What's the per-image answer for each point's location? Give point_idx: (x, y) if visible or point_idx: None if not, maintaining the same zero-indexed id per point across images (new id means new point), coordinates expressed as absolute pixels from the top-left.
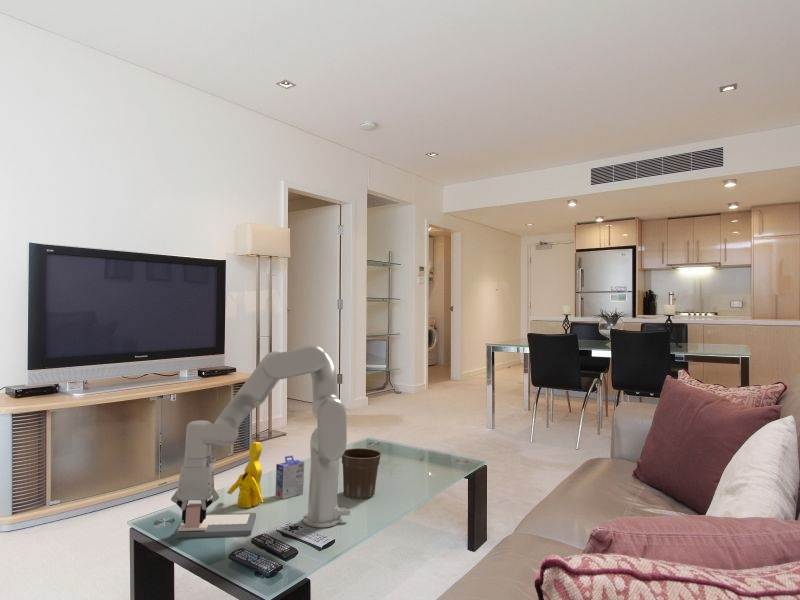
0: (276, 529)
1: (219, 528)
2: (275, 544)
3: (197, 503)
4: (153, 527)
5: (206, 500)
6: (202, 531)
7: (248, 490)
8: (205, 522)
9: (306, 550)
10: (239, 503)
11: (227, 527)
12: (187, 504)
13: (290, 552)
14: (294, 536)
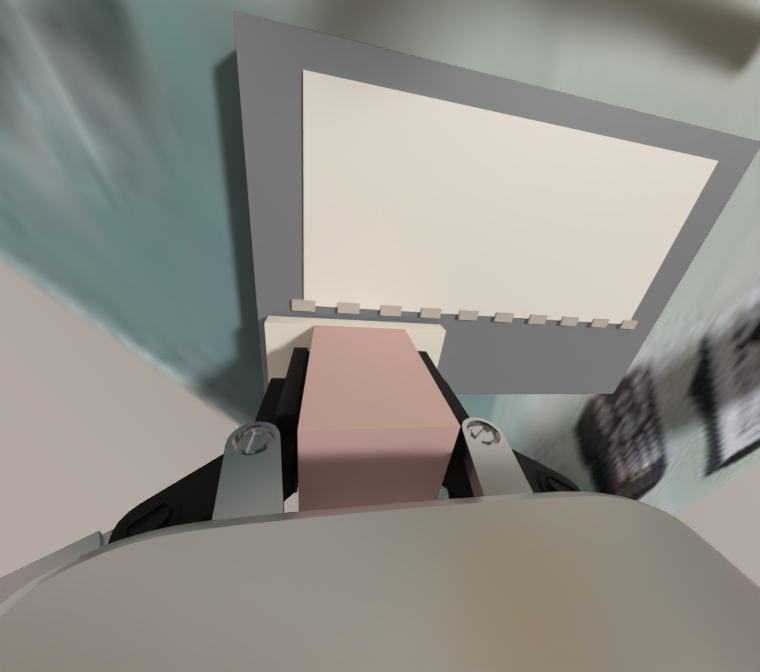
0: (705, 335)
1: (491, 362)
2: (632, 445)
3: (398, 438)
4: (12, 184)
5: (513, 493)
6: None
7: None
8: (427, 331)
9: (680, 476)
10: None
11: (530, 353)
12: (280, 456)
13: (640, 484)
14: (714, 398)
